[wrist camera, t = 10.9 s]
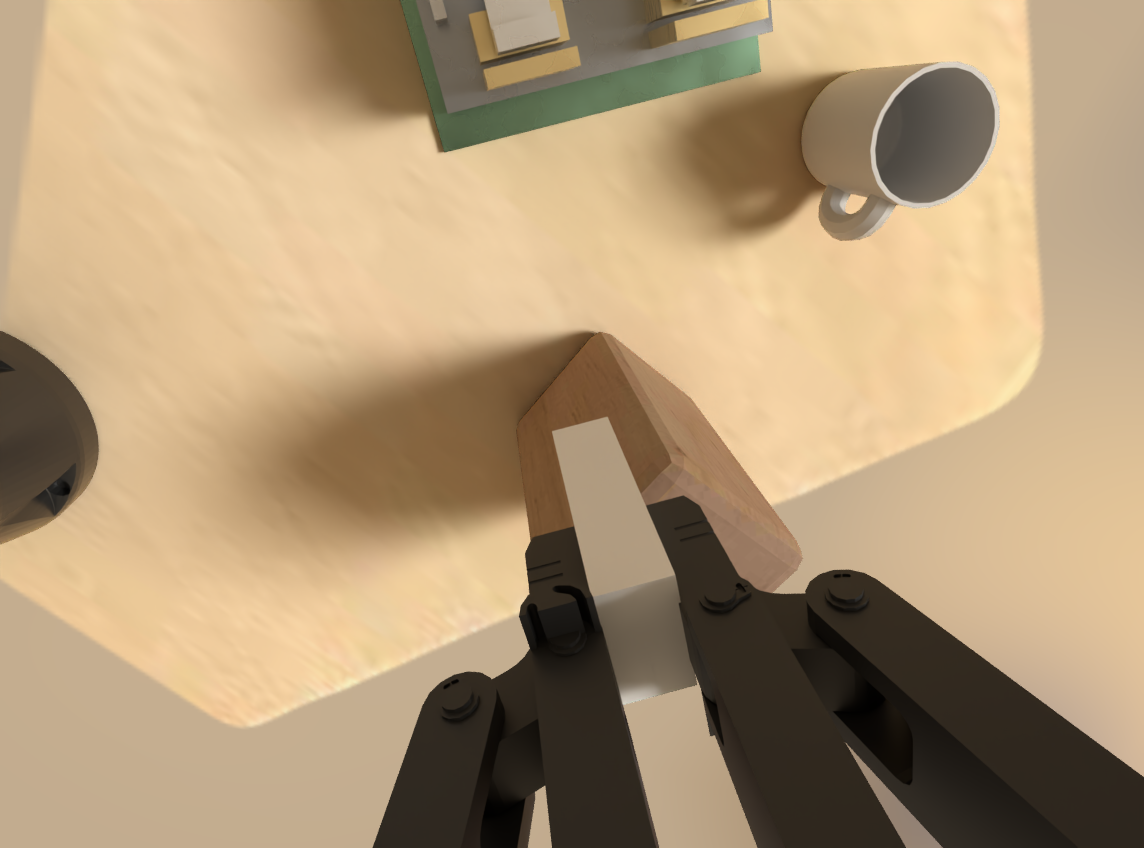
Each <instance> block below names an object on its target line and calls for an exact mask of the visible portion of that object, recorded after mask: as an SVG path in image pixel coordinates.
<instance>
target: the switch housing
mask: <svg viewBox="0 0 1144 848" xmlns="http://www.w3.org/2000/svg"><path fill="white" fill-rule="evenodd" d="M400 1H401V5H402V8H403V12H404V15H405V19H406V22H407V25H408V29H409V32H410V36H411V39H412V43H413V46H414V49H415V53H416V56H417V60H418V63H419V67H420V70H421V73H422V77H423V80H424V84H425V87H426V91H427V94H428V98H429V101H430V104H431V108H432V111H433V115H434V118H435V122H436V125H437V128H438V132H439V135H440V139H441V142H442V146H443V149H444V152H448V151H452V150H456V149H460V148H464V147H468V146H472V145H476V144H480V143H484V142H488V141H491V140H495V139H499V138H503V137H507V136H511V135H515V134H519V133H523V132H527V131H531V130H535V129H538V128H542V127H546V126H550V125H554V124H558V123H562V122H566V121H570V120H574V119H578V118H582V117H585V116H589V115H593V114H597V113H601V112H605V111H609V110H613V109H617V108H621V107H625V106H629V105H632V104H636V103H640V102H644V101H648V100H652V99H656V98H660V97H664V96H668V95H672V94H676V93H679V92H683V91H687V90H691V89H695V88H699V87H703V86H707V85H711V84H715V83H719V82H723V81H726V80H730V79H734V78H738V77H742V76H746V75H750V74H754V73H758V72H761V69H760V57H759V45H758V35H760V34H764V33H768V32H772V31H773V27H772V14H771V1H770V0H715V1H711V2H707V3H703V4H699V5H695V6H691V7H688V4H686V5H682V0H549V4H550V8H551V12H552V11H555V12H556V17H557V22H558V27H559V32H560V38H559V39H558V40H557V41H553V42H549V43H545V44H541V45H537V46H533V47H529V48H526V49H522V50H518V51H514V52H510V53H506V54H502V55H498V54H497V52H496V49H495V45H494V41H493V37H492V33H491V29H490V25H489V21H488V17H487V12H486V8H485V4H484V0H400Z"/></svg>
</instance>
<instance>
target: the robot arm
mask: <svg viewBox="0 0 1144 848" xmlns="http://www.w3.org/2000/svg"><path fill="white" fill-rule="evenodd" d="M552 434H553V438H554V443H555V447H556V451H557V455H558V459H559V464H560V468H561V472H562V476H563V480H564V484H565V489H566V493H567V497H568V501H569V505H570V510H571V514H572V518H573V522H574V526H573V527H569V528H565V529H562V530H558V531H554V532H550V533H547V534H543V535H539V536H535V537H532V539H531V542H530V544H529V546H528V548H527V550H526V553H525V557H526V566H527V575H528V583H529V593H530V594H529V595H528V596H527V598H526V599H525V601H524V602H523V604H522V605H521V608H520V614H519V618H520V621H521V624H522V626H523V629H524V632H525V635H526V638H527V641H528V644H529V647H530V649H529V651H528V652H527V654H526V655H525V657H524V658H523V659H522V660H521V661H520V662H519V663H518V664H517V665H515V666H514V667H512V668H511V669H509V670H508V671H506V672H504V673H503V674H501V675H499V676H498V677H496V678H494V679H491V678H490V677H488V676H486V675H484V674H483V673H479V672H464V673H460V674H456V675H453V676H452V677H449V678H448V679H446V680H444V681H442V682H441V683H440V684H439V685H437V686H436V687H435V688H434V689H433V690H432V691H431V692H430V693H429V695H428V697H427V699H426V701H425V702H424V704H423V706H422V709H421V712H420V714H419V717H418V720H417V723H416V726H415V729H414V731H413V734H412V737H411V740H410V743H409V746H408V749H407V752H406V754H405V757H404V760H403V763H402V766H401V768H400V771H399V774H398V777H397V780H396V783H395V786H394V789H393V791H392V794H391V797H390V800H389V803H388V806H387V808H386V811H385V814H384V817H383V820H382V823H381V825H380V828H379V832H378V834H377V837H376V840H375V842H374V845H373V848H528V842H529V835H530V829H531V822H532V815H533V809H534V802H535V791H537V790H538V789H540V788H542V787H543V786H546V795H547V805H548V813H549V823H550V832H551V842H552V848H659V845H658V841H657V837H656V833H655V829H654V825H653V821H652V817H651V813H650V809H649V805H648V801H647V797H646V793H645V789H644V785H643V781H642V777H641V773H640V769H639V766H638V761H637V757H636V754H635V750H634V746H633V742H632V738H631V734H630V730H629V726H628V723H627V719H626V715H625V711H624V708H623V705H625V704H628V703H633V702H636V701H640V700H643V699H647V698H650V697H654V696H658V695H662V694H665V693H669V692H673V691H676V690H680V689H684V688H687V687H691V686H695V685H697V681H696V677H697V680H698V682H699V685H700V687H701V691H702V696H703V701H704V707H705V711H706V717H707V722H708V727H709V732H710V736H713V735H715V737H716V739H717V742H718V744H719V747H720V750H721V752H722V755H723V758H724V760H725V763H726V766H727V768H728V771H729V774H730V776H731V779H732V781H733V784H734V786H735V789H736V792H737V795H738V797H739V800H740V803H741V805H742V808H743V810H744V813H745V816H746V818H747V821H748V824H749V826H750V829H751V832H752V834H753V837H754V840H755V842H756V845H757V847H758V848H906V847H905V845H904V843H903V842H902V840H901V838H900V836H899V835H898V833H897V831H896V830H895V828H894V826H893V824H892V823H891V821H890V819H889V818H888V816H887V814H886V812H885V810H884V809H883V807H882V805H881V804H880V802H879V800H878V798H877V797H876V795H875V793H874V792H873V790H872V788H871V787H870V785H869V783H868V781H867V779H866V778H865V776H864V774H863V773H862V771H861V769H860V767H859V766H858V764H857V762H856V760H855V759H854V757H853V755H852V754H851V752H850V750H849V748H848V747H847V745H846V743H847V744H848V746H850V747H851V749H853V751H854V752H855V753H856V754H857V755H858V756H859V757H860V759H861V760H862V761H863V762H864V763H865V764H866V765H867V766H868V767H869V768H870V769H871V770H872V771H873V772H874V774H875V775H876V776H877V777H878V778H879V779H880V780H881V781H882V782H883V783H884V784H885V786H886V787H888V789H889V790H890V791H891V792H892V793H893V794H894V795H895V796H896V797H897V798H898V800H899V801H900V802H901V803H902V804H903V805H904V806H905V807H906V808H907V809H908V810H909V811H910V812H911V814H912V815H913V816H914V817H915V818H916V819H917V820H918V821H919V822H920V823H921V824H922V825H923V826H924V828H925V829H926V830H927V831H928V832H929V833H930V834H931V835H932V836H933V837H934V838H935V839H936V841H937V842H938V843H939V844H940V845H941V846H942V847H943V848H1144V777H1143V776H1142V775H1140V774H1139V773H1138V772H1136V771H1135V770H1133V769H1132V768H1131V767H1129V766H1128V765H1127V764H1125V763H1124V762H1123V761H1121V760H1120V759H1119V758H1117V757H1116V756H1115V755H1113V754H1112V753H1110V752H1109V751H1108V750H1106V749H1105V748H1104V747H1102V746H1101V745H1100V744H1098V743H1097V742H1096V741H1094V740H1093V739H1092V738H1090V737H1089V736H1088V735H1086V734H1085V733H1083V732H1082V731H1080V730H1079V729H1078V728H1077V727H1075V726H1074V725H1072V724H1071V723H1070V722H1069V721H1067V720H1066V719H1064V718H1063V717H1062V716H1060V715H1059V714H1057V713H1056V712H1055V711H1054V710H1052V709H1051V708H1050V707H1048V706H1047V705H1046V704H1044V703H1043V702H1042V701H1040V700H1039V699H1038V698H1036V697H1035V696H1034V695H1032V694H1031V693H1029V692H1028V691H1027V690H1025V689H1024V688H1023V687H1021V686H1020V685H1019V684H1017V683H1016V682H1014V681H1013V680H1012V679H1011V678H1009V677H1008V676H1007V675H1005V674H1004V673H1003V672H1001V671H1000V670H998V669H997V668H996V667H994V666H993V665H991V664H990V663H989V662H988V661H986V660H985V659H984V658H982V657H981V656H980V655H978V654H977V653H975V652H974V651H973V650H971V649H970V648H969V647H967V646H966V645H965V644H963V643H962V642H961V641H959V640H958V639H957V638H955V637H954V636H952V635H951V634H950V633H948V632H947V631H946V630H944V629H943V628H942V627H940V626H939V625H938V624H936V623H935V622H934V621H932V620H931V619H930V618H928V617H927V616H925V615H924V614H923V613H921V612H920V611H919V610H917V609H916V608H915V607H913V606H912V605H911V604H909V603H908V602H907V601H905V600H904V599H903V598H901V597H900V596H898V595H897V594H896V593H894V592H893V591H892V590H890V589H889V588H888V587H886V586H885V585H884V584H882V583H881V582H880V581H878V580H877V579H875V578H873V577H871V576H869V575H867V574H865V573H862V572H857V571H853V570H832V571H829V572H826V573H822V574H820V575H818V576H817V577H815V578H814V579H813V580H812V581H810V583H809V585H808V587H807V589H806V591H805V592H806V594H775V593H769V592H765V591H760V590H758V589H756V588H755V587H754V586H753V585H752V584H751V583H750V582H749V581H748V580H745V579H743V578H741V577H740V576H739V574H738V573H737V571H736V569H735V567H734V566H733V564H732V562H731V560H730V559H729V557H728V555H727V553H726V552H725V550H724V548H723V546H722V544H721V543H720V541H719V539H718V537H717V536H716V534H715V533H714V530H713V528H712V527H711V525H710V523H709V522H708V520H707V518H706V516H705V514H704V513H703V511H702V509H701V507H700V505H698V504H697V503H695V502H693V501H692V500H690V499H689V498H687V497H685V496H684V495H683V496H679V497H675V498H672V499H668V500H664V501H660V502H657V503H653V504H649V505H645V503H644V500H643V498H642V496H641V493H640V491H639V489H638V487H637V484H636V482H635V480H634V477H633V475H632V473H631V470H630V468H629V466H628V463H627V461H626V459H625V456H624V454H623V452H622V449H621V447H620V445H619V442H618V440H617V438H616V435H615V433H614V431H613V428H612V426H611V424H610V421H609V419H608V417H604V418H600V419H597V420H593V421H589V422H585V423H581V424H578V425H574V426H570V427H566V428H563V429H559V430H555V431H552ZM98 451H99V449H98V436H97V431H96V427H95V423H94V420H93V417H92V415H91V412H90V410H89V408H88V406H87V404H86V403H85V401H84V399H83V397H82V396H81V394H80V393H79V391H78V390H77V389H76V387H75V386H74V385H73V383H72V382H71V381H70V380H69V379H68V378H67V377H66V375H65V374H64V373H63V372H62V371H61V370H60V369H59V368H58V367H56V366H55V365H54V364H53V363H52V362H51V361H50V360H48V359H47V358H46V357H45V356H43V355H42V354H40V353H39V352H38V351H36V350H35V349H33V348H32V347H30V346H29V345H27V344H25V343H24V342H22V341H20V340H18V339H16V338H14V337H12V336H10V335H8V334H6V333H4V332H2V331H0V544H3V543H5V542H8V541H10V540H13V539H15V538H18V537H20V536H23V535H25V534H28V533H30V532H32V531H35V530H37V529H39V528H41V527H43V526H44V525H46V524H48V523H49V522H51V521H52V520H54V519H55V518H56V517H58V516H59V515H60V514H61V513H62V512H63V511H64V510H65V509H67V508H68V507H69V506H70V505H71V504H72V503H73V502H74V501H75V500H76V499H77V498H78V497H79V496H80V495H81V494H82V492H83V491H84V490H85V489H86V487H87V486H88V484H89V483H90V481H91V479H92V477H93V474H94V472H95V469H96V465H97V460H98ZM695 675H696V676H695ZM845 742H846V743H845Z"/></svg>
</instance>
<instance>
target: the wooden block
mask: <svg viewBox="0 0 1144 848" xmlns="http://www.w3.org/2000/svg"><path fill="white" fill-rule="evenodd" d="M604 417H608V419H609V421H610V424H611V426H612V428H613V431H614V433H615V435H616V438H617V440H618V442H619V445H620V447H621V449H622V452H623V454H624V456H625V459H626V461H627V463H628V466H629V468H630V470H631V473H632V475H633V477H634V480H635V482H636V484H637V487H638V489H639V491H640V493H641V496H642V498H643V500H644V503H645V505H649V504H653V503H657V502H660V501H664V500H668V499H672V498H675V497H679V496H683V495H684V496H685V497H687V498H689V499H690V500H692V501H693V502H695V503H697V504H698V505H700V507H701V509H702V511H703V513H704V514H705V516H706V518H707V520H708V522H709V523H710V525H711V527H712V528H713V530H714V533H715V534H716V536H717V537H718V539H719V541H720V543H721V544H722V546H723V548H724V550H725V552H726V553H727V555H728V557H729V559H730V560H731V562H732V564H733V566H734V567H735V569H736V571H737V573H738V574H739V576H740V577H741V578H743V579H745V580H748V581H749V582H750V583H751V584H752V585H753V586H754V587H755V588H756V589H758V590H760V591H765V592H769V593H773V592H774V591H775V590H776V589H777V588H778V587H779V586H780V585H781V584H782V583H783V582H784V581H785V580H787V579H788V578H789V577H790V576H791V575H792V574H793V573H794V572H795V571H796V570H797V569H798V567H799V565H800V563H801V561H802V559H803V558H802V553H801V550H800V548H799V546H798V543H797V541H796V540H795V538H794V537H793V535H792V534H791V533H790V531H789V530H788V529H787V527H786V526H785V525H784V523H783V522H782V521H781V519H780V518H779V517H778V515H777V514H776V513H775V511H774V510H773V509H772V507H771V506H770V504H769V503H768V502H767V500H766V499H765V498H764V496H763V495H762V494H761V492H760V491H759V490H758V488H757V487H756V486H755V484H754V483H753V481H752V480H751V479H750V477H749V476H748V475H747V473H746V472H745V471H744V469H743V468H742V467H741V465H740V464H739V463H738V461H737V460H736V458H735V457H734V456H733V454H732V453H731V452H730V450H729V449H728V448H727V446H726V445H725V444H724V442H723V441H722V440H721V438H720V437H719V436H718V434H717V433H716V431H715V430H714V429H713V427H712V426H711V425H710V423H709V422H708V421H707V419H706V418H705V417H704V415H703V414H702V413H701V411H700V410H699V409H698V407H697V406H696V404H695V403H694V402H693V400H692V399H691V398H690V397H688V396H687V395H686V394H685V393H683V392H682V391H681V390H680V389H678V388H677V387H676V386H675V385H673V384H672V383H671V382H670V381H668V380H667V379H666V378H665V377H663V376H662V375H661V374H660V373H658V372H657V371H656V370H655V369H653V368H652V367H651V366H650V365H648V364H647V363H646V362H645V361H643V360H642V359H641V358H640V357H638V356H637V355H636V354H635V353H633V352H632V351H631V350H630V349H628V348H627V347H626V346H625V345H623V344H622V343H621V342H620V341H618V340H617V339H616V338H615V337H613V336H612V335H610V334H606V333H603V332H599V333H597V334H596V335H594V336H593V337H591V338H590V339H589V340H588V341H587V343H586V344H585V345H584V346H583V347H582V349H581V350H580V351H579V352H578V353H577V354H576V356H575V357H574V358H573V359H572V360H571V361H570V363H569V364H568V365H567V366H566V367H565V369H564V370H563V371H562V372H561V373H560V374H559V376H558V377H557V378H556V379H555V380H554V381H553V383H552V384H551V385H550V386H549V387H548V388H547V390H546V391H545V392H544V393H543V394H542V396H541V397H540V398H539V399H538V400H537V401H536V403H535V404H534V405H533V406H532V407H531V408H530V410H529V411H528V412H527V413H526V414H525V416H524V417H523V418H522V419H521V420H520V421H519V424H518V428H517V439H518V446H519V454H520V462H521V470H522V477H523V485H524V493H525V501H526V508H527V516H528V524H529V532H530V539H532V537H535V536H539V535H543V534H547V533H550V532H554V531H558V530H562V529H565V528H569V527H573V526H574V522H573V518H572V514H571V510H570V505H569V501H568V497H567V493H566V489H565V484H564V480H563V476H562V472H561V468H560V464H559V459H558V455H557V451H556V447H555V443H554V438H553V434H552V431H555V430H559V429H563V428H566V427H570V426H574V425H578V424H581V423H585V422H589V421H593V420H597V419H600V418H604Z"/></svg>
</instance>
